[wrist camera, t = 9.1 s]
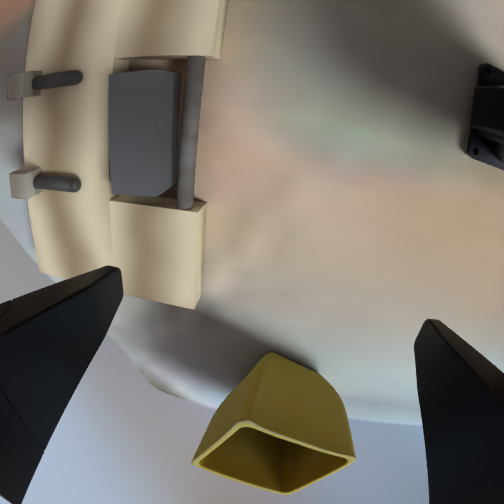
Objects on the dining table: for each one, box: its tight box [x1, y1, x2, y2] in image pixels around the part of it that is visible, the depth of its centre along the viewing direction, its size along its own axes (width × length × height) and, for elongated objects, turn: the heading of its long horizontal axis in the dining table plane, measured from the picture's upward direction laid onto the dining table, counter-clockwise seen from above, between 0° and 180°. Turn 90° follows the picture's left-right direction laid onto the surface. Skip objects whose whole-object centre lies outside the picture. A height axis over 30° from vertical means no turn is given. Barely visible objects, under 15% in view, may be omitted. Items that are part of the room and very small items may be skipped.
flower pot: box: [192, 352, 356, 495], centre depth 22 cm, size 9×9×9 cm
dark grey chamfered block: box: [108, 69, 180, 197], centre depth 17 cm, size 3×7×4 cm, turn 177°
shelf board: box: [7, 0, 228, 309], centre depth 17 cm, size 14×23×4 cm, turn 173°
